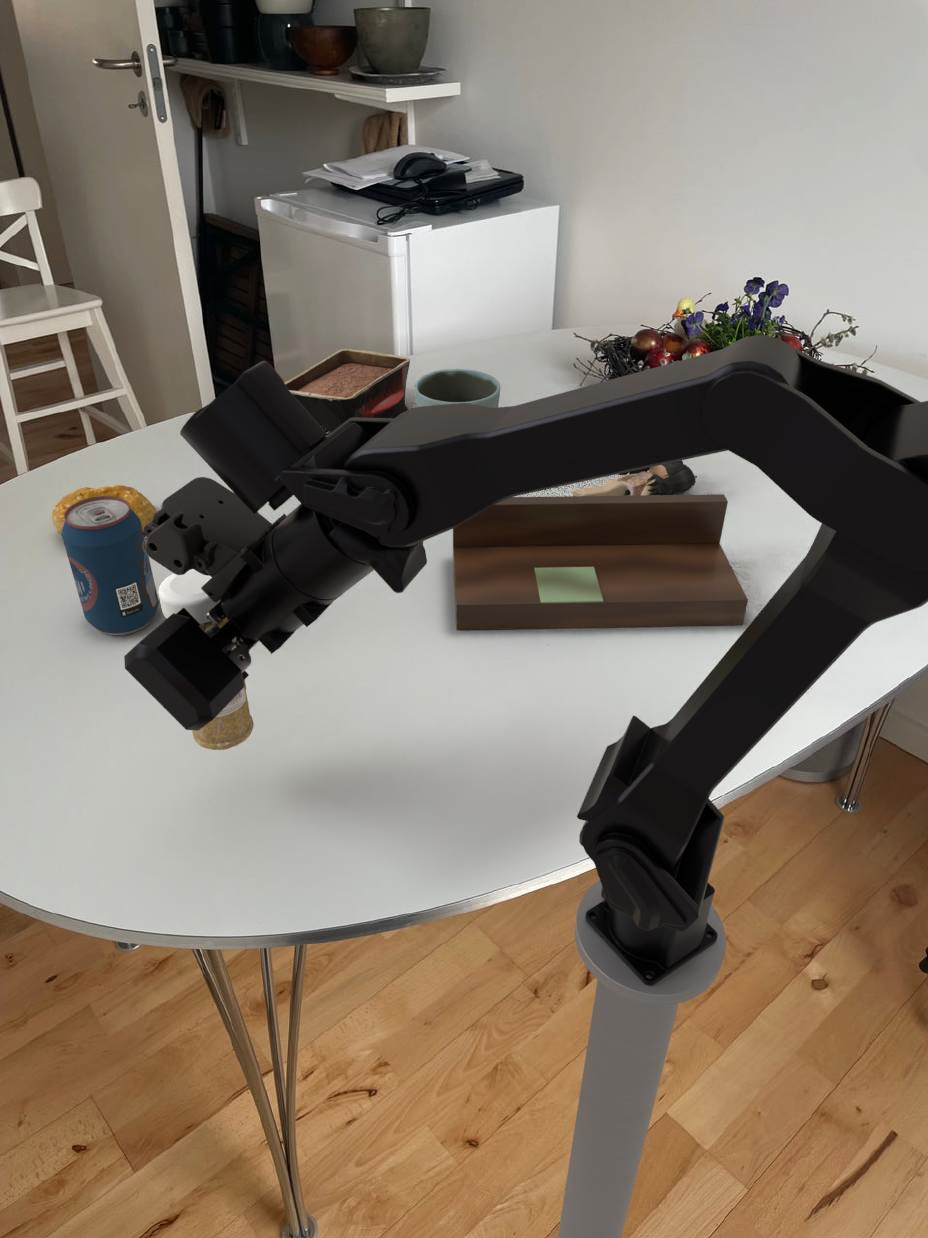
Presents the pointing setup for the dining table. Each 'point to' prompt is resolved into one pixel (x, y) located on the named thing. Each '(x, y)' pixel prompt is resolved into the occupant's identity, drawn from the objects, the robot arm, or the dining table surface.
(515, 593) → the shelf
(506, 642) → the dining table surface
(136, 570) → the soda can
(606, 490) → the toy figure
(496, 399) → the teal cup
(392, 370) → the baking dish
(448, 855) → the dining table surface
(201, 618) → the sprinkles bottle
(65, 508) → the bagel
